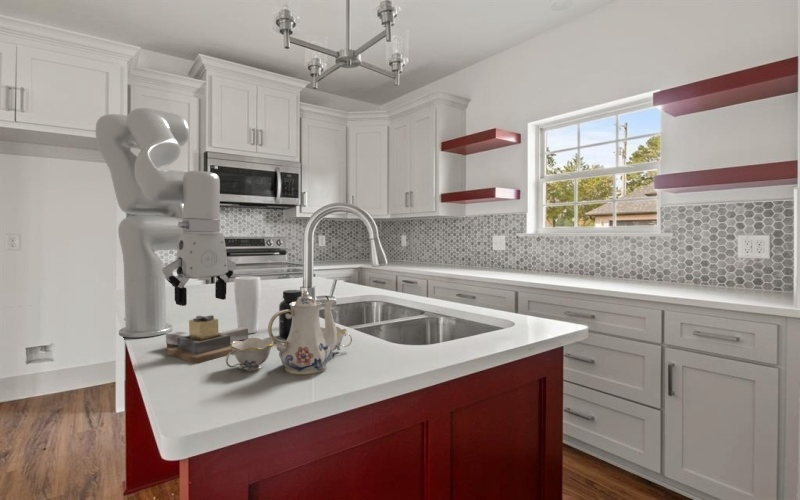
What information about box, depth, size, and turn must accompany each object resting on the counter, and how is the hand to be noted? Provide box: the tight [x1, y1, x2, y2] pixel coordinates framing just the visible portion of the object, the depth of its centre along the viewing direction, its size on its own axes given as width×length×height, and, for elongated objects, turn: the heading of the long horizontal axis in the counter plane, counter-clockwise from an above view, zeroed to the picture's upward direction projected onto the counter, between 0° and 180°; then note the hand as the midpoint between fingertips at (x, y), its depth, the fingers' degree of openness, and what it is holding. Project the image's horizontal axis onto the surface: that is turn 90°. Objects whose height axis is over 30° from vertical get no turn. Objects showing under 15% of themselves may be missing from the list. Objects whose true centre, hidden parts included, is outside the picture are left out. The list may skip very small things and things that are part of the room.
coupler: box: [188, 314, 219, 342], centre depth 100 cm, size 4×4×7 cm
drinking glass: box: [233, 275, 262, 335], centre depth 119 cm, size 7×7×15 cm
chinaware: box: [225, 289, 353, 376], centre depth 92 cm, size 28×17×17 cm, turn 134°
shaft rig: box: [165, 327, 249, 364], centre depth 104 cm, size 17×16×4 cm
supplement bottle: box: [278, 289, 303, 340], centre depth 115 cm, size 7×7×12 cm
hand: (201, 301), depth 100 cm, fingers open, 9 cm apart
